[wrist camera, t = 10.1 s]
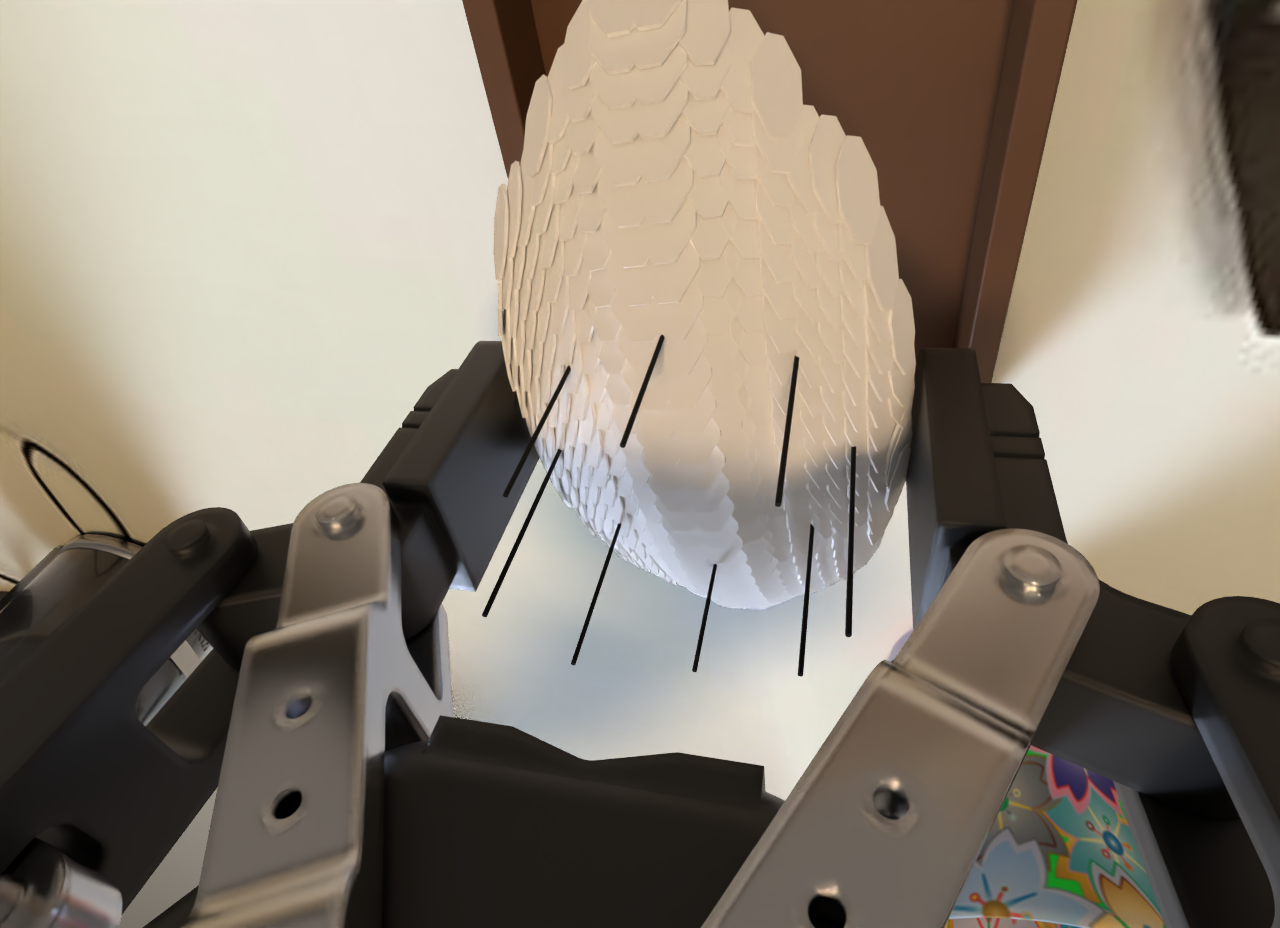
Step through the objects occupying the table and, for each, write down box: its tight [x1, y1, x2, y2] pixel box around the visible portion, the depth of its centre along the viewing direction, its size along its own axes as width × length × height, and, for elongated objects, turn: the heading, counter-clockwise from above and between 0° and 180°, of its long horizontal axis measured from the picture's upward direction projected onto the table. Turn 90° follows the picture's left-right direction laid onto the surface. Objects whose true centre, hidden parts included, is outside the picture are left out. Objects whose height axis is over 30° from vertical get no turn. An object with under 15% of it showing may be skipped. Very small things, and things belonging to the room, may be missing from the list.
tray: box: [462, 0, 1077, 383], centre depth 17 cm, size 11×16×3 cm
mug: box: [945, 746, 1166, 928], centre depth 27 cm, size 12×9×11 cm
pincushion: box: [482, 0, 916, 676], centre depth 11 cm, size 12×6×6 cm, turn 14°
